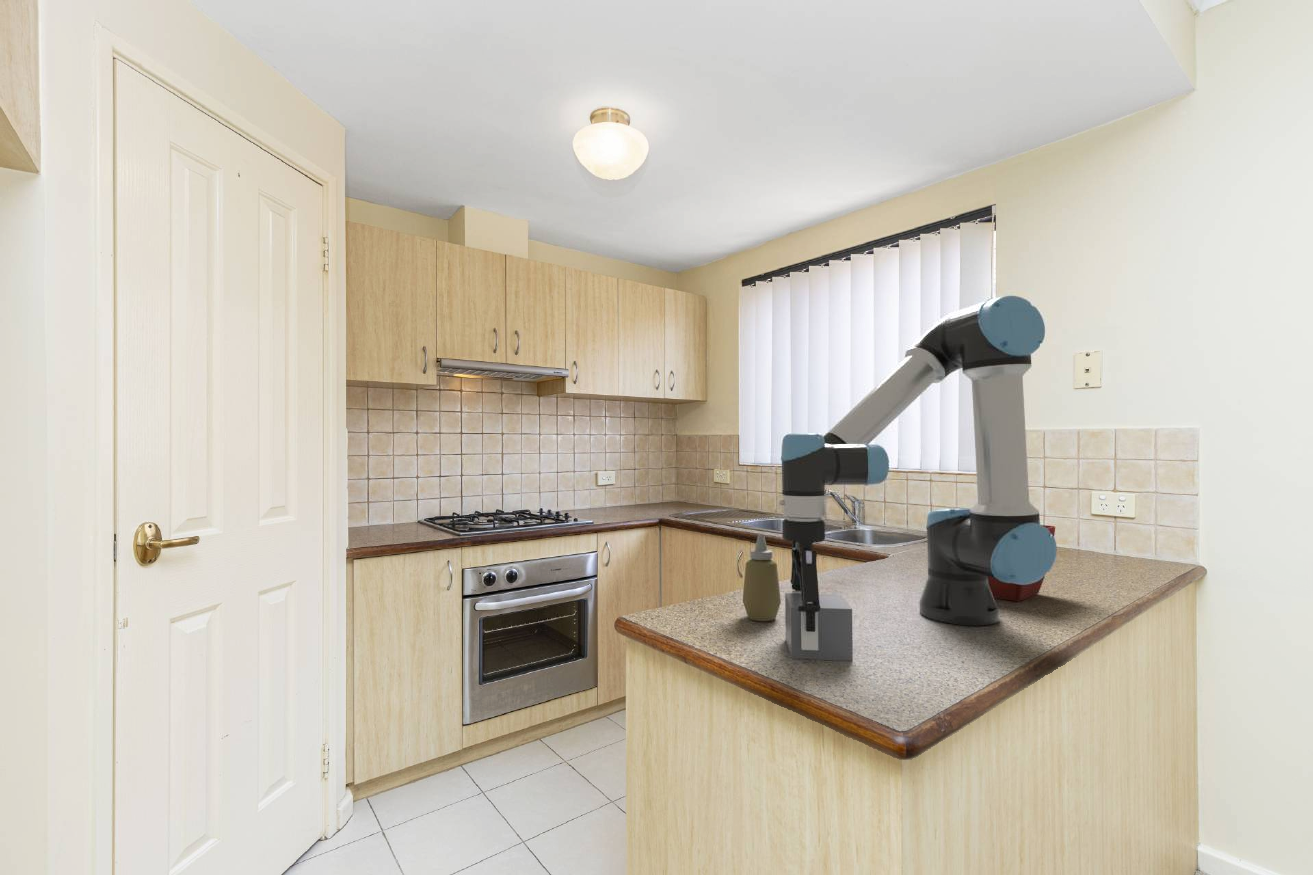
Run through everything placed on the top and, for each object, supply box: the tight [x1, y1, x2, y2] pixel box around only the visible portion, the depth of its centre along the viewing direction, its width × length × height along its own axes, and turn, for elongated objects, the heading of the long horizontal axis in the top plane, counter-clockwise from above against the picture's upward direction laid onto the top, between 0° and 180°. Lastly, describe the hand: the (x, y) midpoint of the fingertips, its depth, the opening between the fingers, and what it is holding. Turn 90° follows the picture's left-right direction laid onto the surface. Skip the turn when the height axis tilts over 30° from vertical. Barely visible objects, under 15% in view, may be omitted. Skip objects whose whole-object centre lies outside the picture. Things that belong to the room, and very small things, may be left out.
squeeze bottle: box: [742, 532, 782, 622], centre depth 126 cm, size 8×8×18 cm
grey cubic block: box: [784, 592, 854, 662], centre depth 106 cm, size 10×10×9 cm
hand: (804, 636), depth 107 cm, fingers open, 13 cm apart
